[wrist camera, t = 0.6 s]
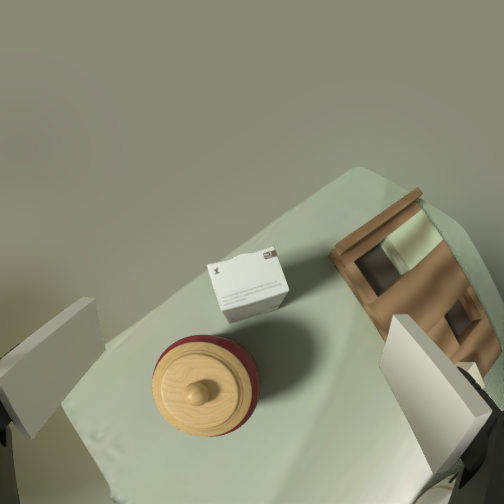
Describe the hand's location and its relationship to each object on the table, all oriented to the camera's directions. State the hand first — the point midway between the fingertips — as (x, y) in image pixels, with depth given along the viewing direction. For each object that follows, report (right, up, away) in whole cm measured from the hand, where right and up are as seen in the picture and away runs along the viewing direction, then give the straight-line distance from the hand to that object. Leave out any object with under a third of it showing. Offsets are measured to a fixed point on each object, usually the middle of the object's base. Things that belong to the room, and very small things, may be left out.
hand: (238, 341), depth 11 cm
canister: (-5, -16, +31) cm, 35 cm away
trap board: (+32, -7, +33) cm, 46 cm away
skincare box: (0, -4, +34) cm, 35 cm away
